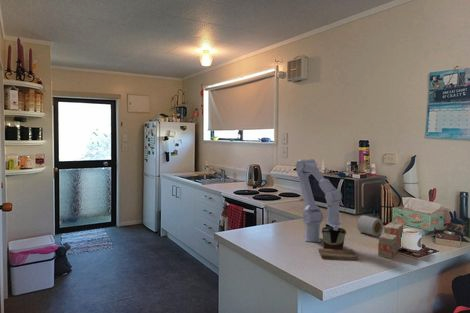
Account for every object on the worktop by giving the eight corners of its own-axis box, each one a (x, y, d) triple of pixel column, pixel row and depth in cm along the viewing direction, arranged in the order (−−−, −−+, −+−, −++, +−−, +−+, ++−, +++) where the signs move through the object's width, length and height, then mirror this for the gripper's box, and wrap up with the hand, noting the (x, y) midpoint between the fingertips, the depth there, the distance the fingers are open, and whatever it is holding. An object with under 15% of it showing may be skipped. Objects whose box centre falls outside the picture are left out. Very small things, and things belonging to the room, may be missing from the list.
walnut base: (318, 251, 164) (318, 248, 164) (351, 252, 163) (351, 249, 162) (322, 258, 154) (322, 255, 154) (357, 260, 153) (357, 256, 152)
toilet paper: (356, 233, 196) (357, 216, 195) (367, 230, 201) (368, 214, 201) (371, 237, 188) (372, 220, 187) (382, 235, 193) (383, 217, 192)
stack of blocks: (391, 259, 155) (392, 232, 154) (377, 256, 159) (378, 230, 158) (402, 247, 171) (403, 223, 171) (389, 245, 175) (390, 221, 175)
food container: (343, 245, 172) (343, 226, 172) (345, 249, 166) (346, 230, 165) (318, 244, 173) (319, 225, 173) (320, 248, 167) (321, 229, 166)
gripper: (344, 217, 161) (343, 245, 162) (337, 211, 176) (337, 236, 176) (329, 217, 162) (329, 244, 162) (324, 210, 176) (323, 236, 177)
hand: (332, 240), depth 169 cm, fingers closed on food container, 6 cm apart
